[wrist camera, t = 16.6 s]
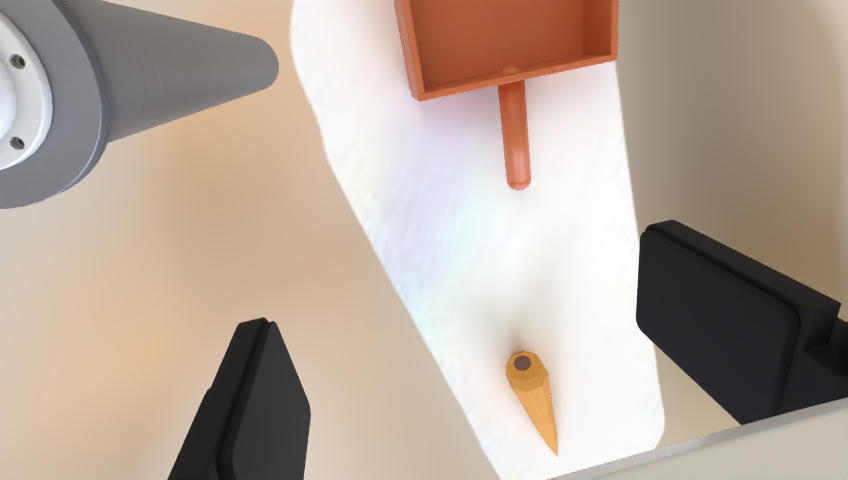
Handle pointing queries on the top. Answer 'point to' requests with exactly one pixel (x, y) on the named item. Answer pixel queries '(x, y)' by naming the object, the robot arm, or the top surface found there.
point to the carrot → (534, 393)
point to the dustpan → (502, 53)
